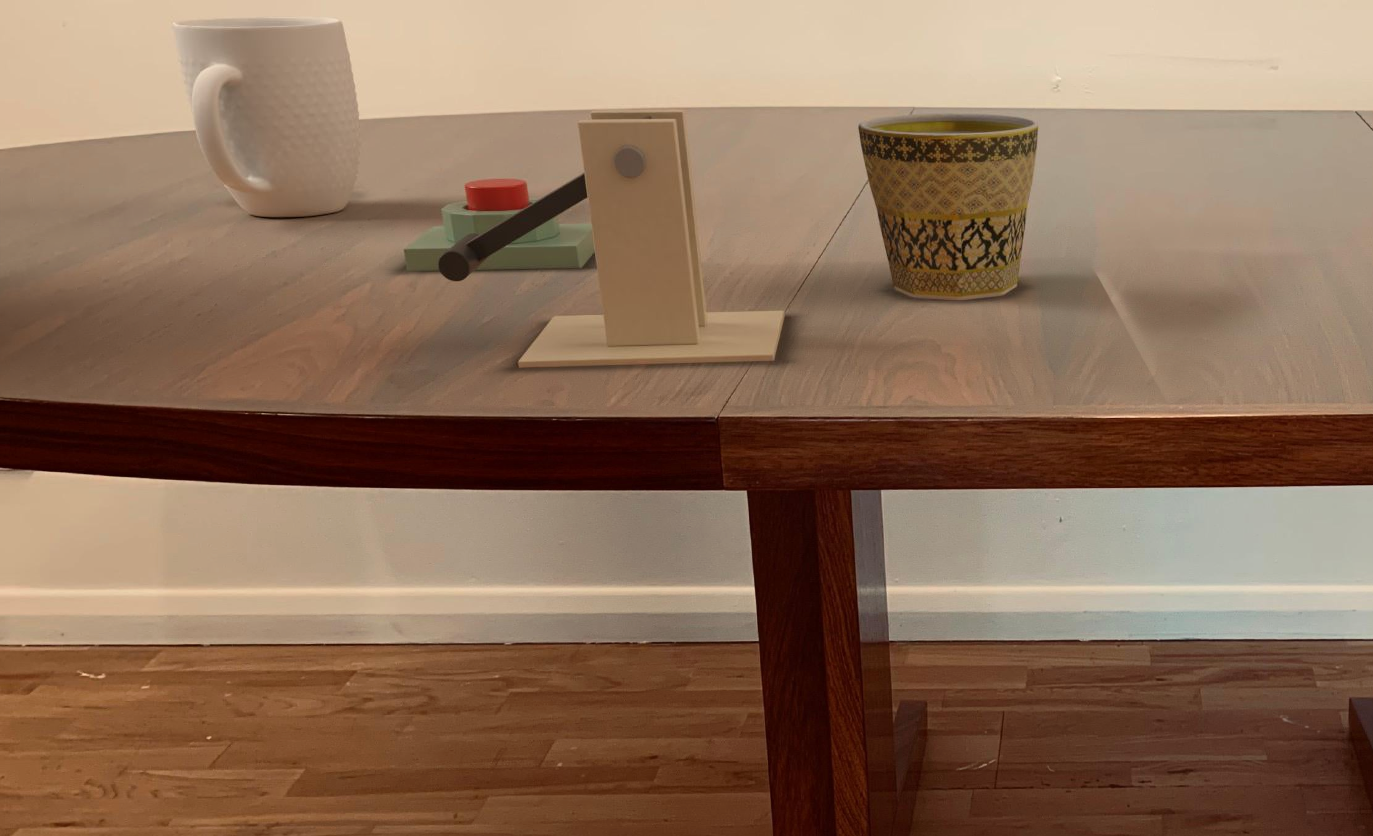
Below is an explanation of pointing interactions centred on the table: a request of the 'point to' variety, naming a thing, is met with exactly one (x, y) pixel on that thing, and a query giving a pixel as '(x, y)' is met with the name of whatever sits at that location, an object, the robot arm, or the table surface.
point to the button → (497, 195)
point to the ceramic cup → (951, 199)
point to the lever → (509, 230)
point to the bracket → (647, 258)
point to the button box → (530, 251)
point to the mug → (274, 110)
